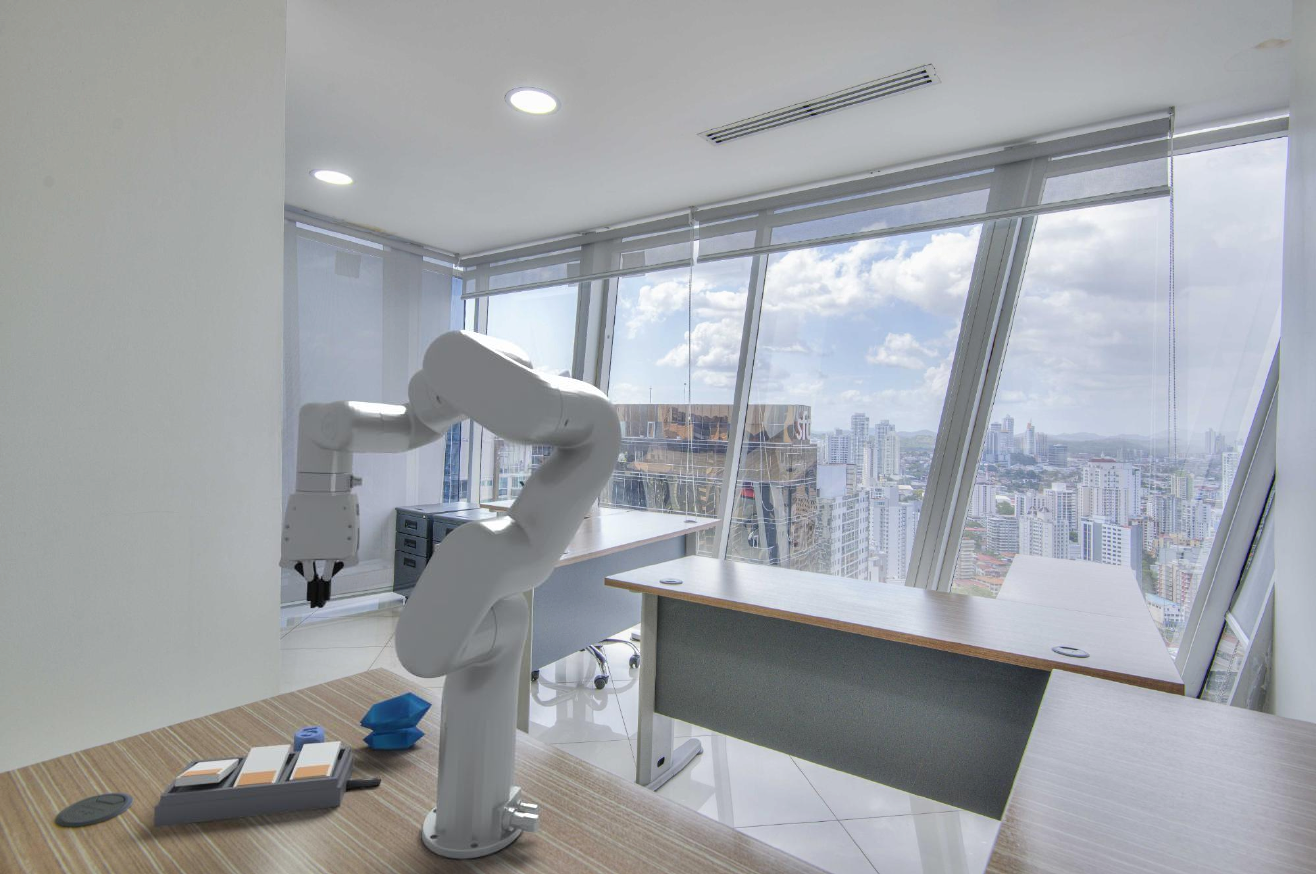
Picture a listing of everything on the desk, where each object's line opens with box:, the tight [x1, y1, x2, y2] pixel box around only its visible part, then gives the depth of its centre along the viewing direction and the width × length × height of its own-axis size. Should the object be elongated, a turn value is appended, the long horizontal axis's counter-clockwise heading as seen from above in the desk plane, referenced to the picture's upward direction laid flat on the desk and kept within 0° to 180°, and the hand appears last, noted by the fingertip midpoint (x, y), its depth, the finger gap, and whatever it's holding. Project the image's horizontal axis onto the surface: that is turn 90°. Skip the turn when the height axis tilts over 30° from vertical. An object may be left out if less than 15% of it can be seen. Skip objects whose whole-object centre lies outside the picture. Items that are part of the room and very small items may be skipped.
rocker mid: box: [233, 744, 292, 787], centre depth 84 cm, size 5×7×1 cm
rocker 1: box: [175, 759, 239, 786], centre depth 82 cm, size 5×7×1 cm
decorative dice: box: [292, 725, 325, 752], centre depth 95 cm, size 4×4×4 cm
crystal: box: [359, 691, 433, 751], centre depth 99 cm, size 7×9×12 cm
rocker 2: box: [289, 740, 342, 781], centre depth 86 cm, size 5×7×1 cm
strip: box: [153, 746, 382, 828], centre depth 84 cm, size 26×9×4 cm, turn 106°
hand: (318, 605), depth 93 cm, fingers closed
